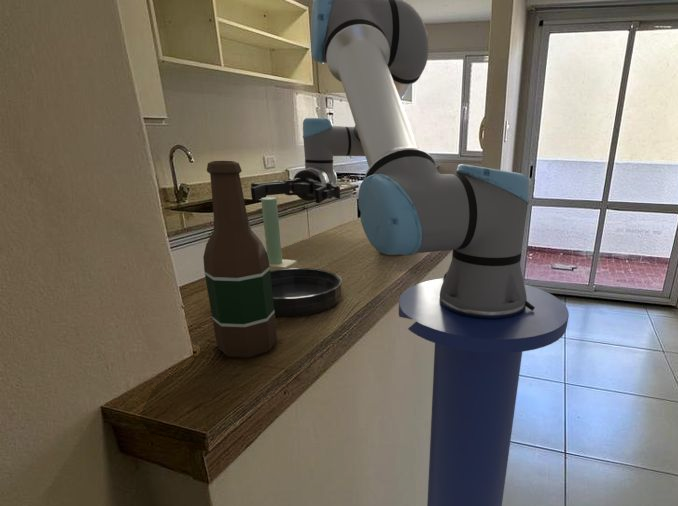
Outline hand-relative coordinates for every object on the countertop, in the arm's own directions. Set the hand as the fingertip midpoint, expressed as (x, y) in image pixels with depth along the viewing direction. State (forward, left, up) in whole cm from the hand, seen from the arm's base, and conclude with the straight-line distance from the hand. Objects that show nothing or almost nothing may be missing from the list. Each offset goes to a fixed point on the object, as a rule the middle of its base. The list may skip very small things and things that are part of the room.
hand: (285, 195), depth 94 cm
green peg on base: (-2, +9, -14) cm, 17 cm away
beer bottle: (-14, +40, -14) cm, 44 cm away
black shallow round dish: (-12, +22, -14) cm, 28 cm away
